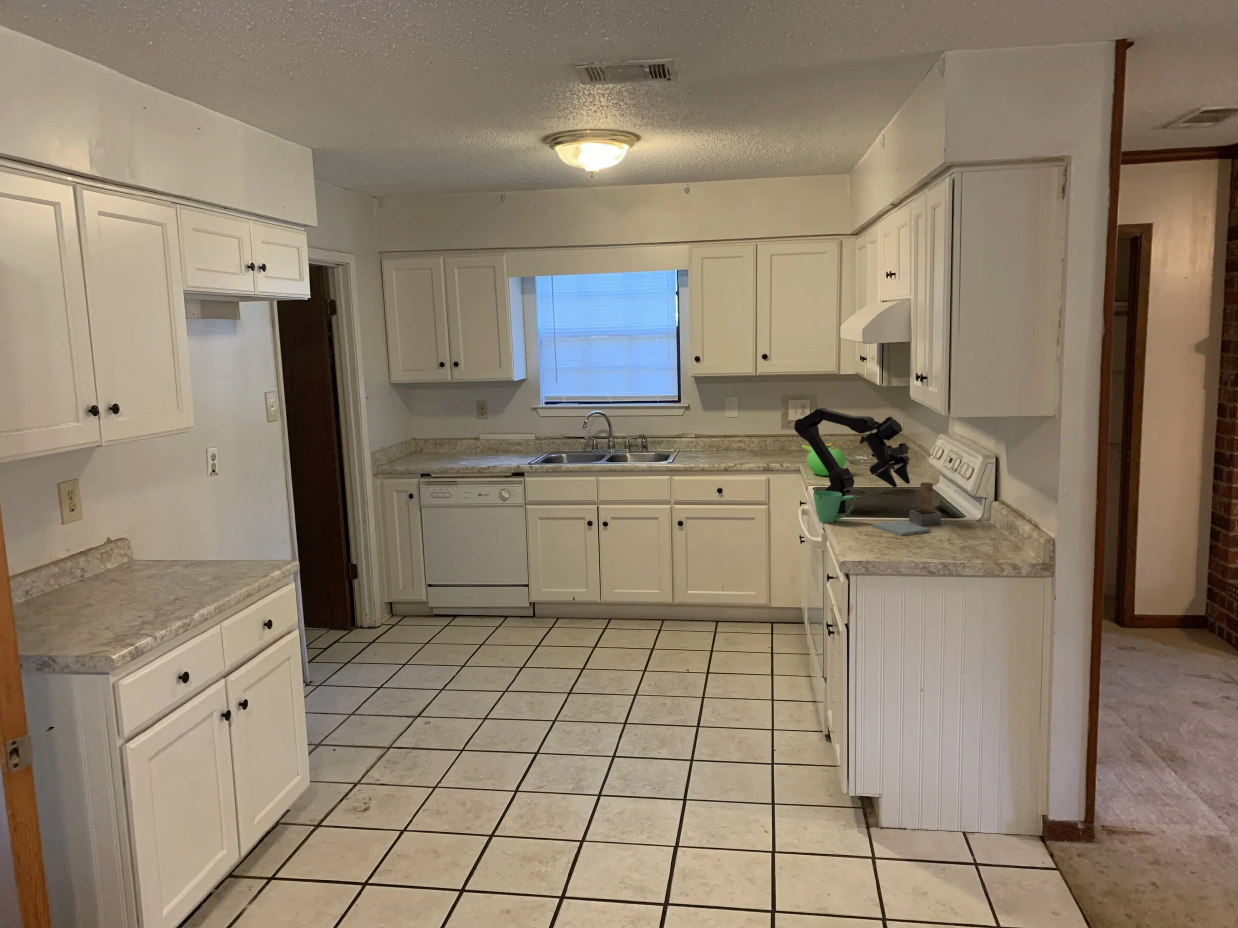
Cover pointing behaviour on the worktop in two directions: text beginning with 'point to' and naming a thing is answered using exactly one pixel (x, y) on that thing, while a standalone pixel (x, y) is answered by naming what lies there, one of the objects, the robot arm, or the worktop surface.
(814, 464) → the toy bird
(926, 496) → the dowel
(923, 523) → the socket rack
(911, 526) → the board
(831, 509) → the mug
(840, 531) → the worktop surface
